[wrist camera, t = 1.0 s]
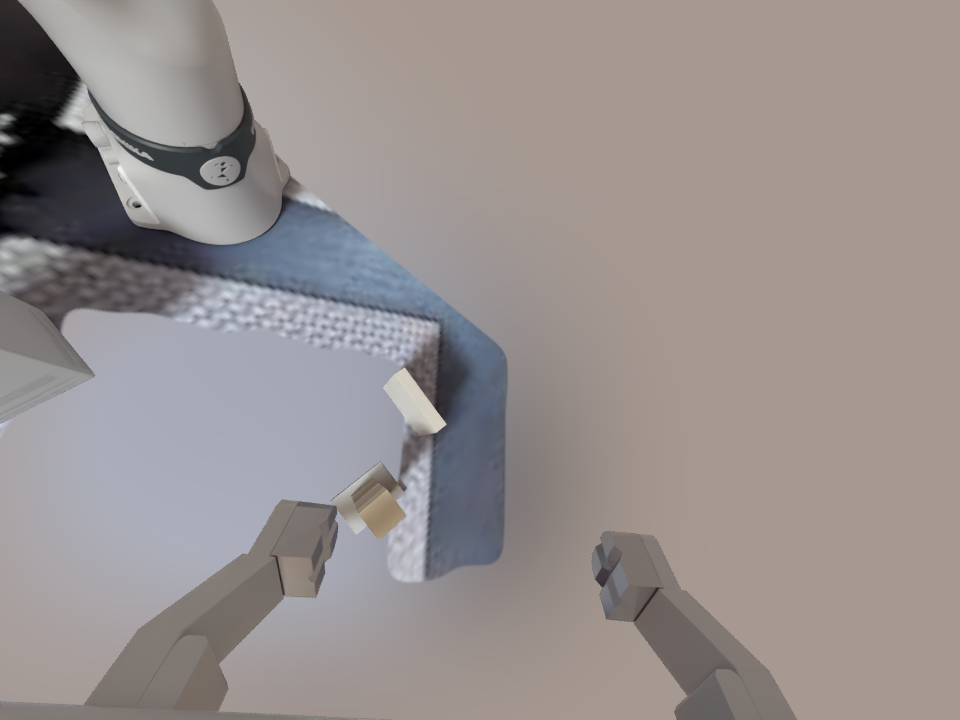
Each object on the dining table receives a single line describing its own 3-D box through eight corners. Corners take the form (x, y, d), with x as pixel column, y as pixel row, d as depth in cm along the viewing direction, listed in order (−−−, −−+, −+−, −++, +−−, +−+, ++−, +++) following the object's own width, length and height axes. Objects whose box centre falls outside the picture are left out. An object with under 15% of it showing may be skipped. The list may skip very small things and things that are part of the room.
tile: (383, 387, 48) (393, 374, 39) (392, 380, 48) (405, 366, 40) (418, 435, 48) (436, 432, 40) (427, 428, 49) (447, 423, 41)
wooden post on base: (330, 500, 42) (330, 521, 30) (380, 461, 45) (398, 465, 33) (356, 533, 43) (365, 568, 30) (403, 492, 46) (430, 508, 33)
